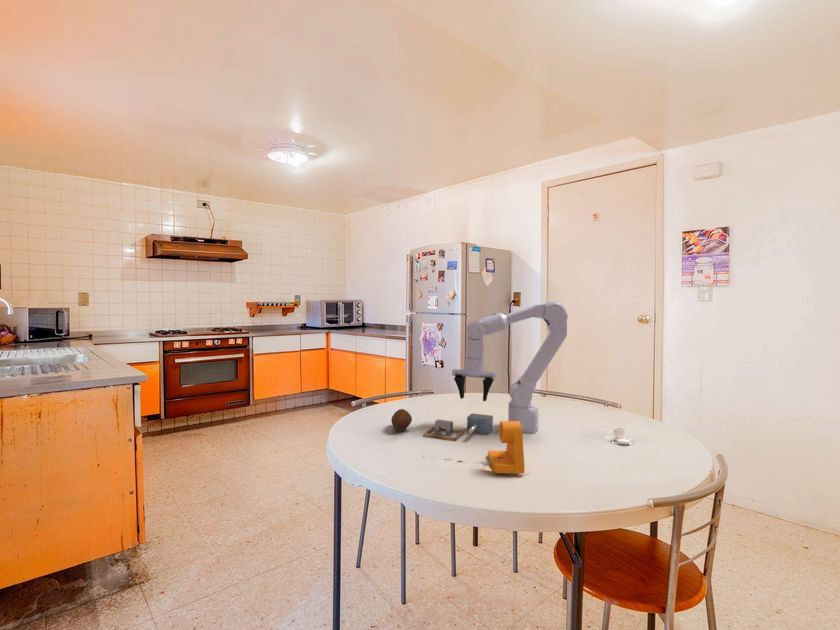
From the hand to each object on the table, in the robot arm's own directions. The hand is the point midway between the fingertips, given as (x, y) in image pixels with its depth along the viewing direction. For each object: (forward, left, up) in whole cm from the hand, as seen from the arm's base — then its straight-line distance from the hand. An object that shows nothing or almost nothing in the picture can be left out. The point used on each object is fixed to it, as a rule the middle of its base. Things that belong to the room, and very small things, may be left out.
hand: (473, 399), depth 143 cm
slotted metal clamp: (+6, +12, -10) cm, 17 cm away
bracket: (-16, +28, -11) cm, 34 cm away
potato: (+22, +9, -11) cm, 26 cm away
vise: (-3, +8, -10) cm, 13 cm away
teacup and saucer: (-42, -7, -11) cm, 44 cm away
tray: (+6, +12, -10) cm, 17 cm away
